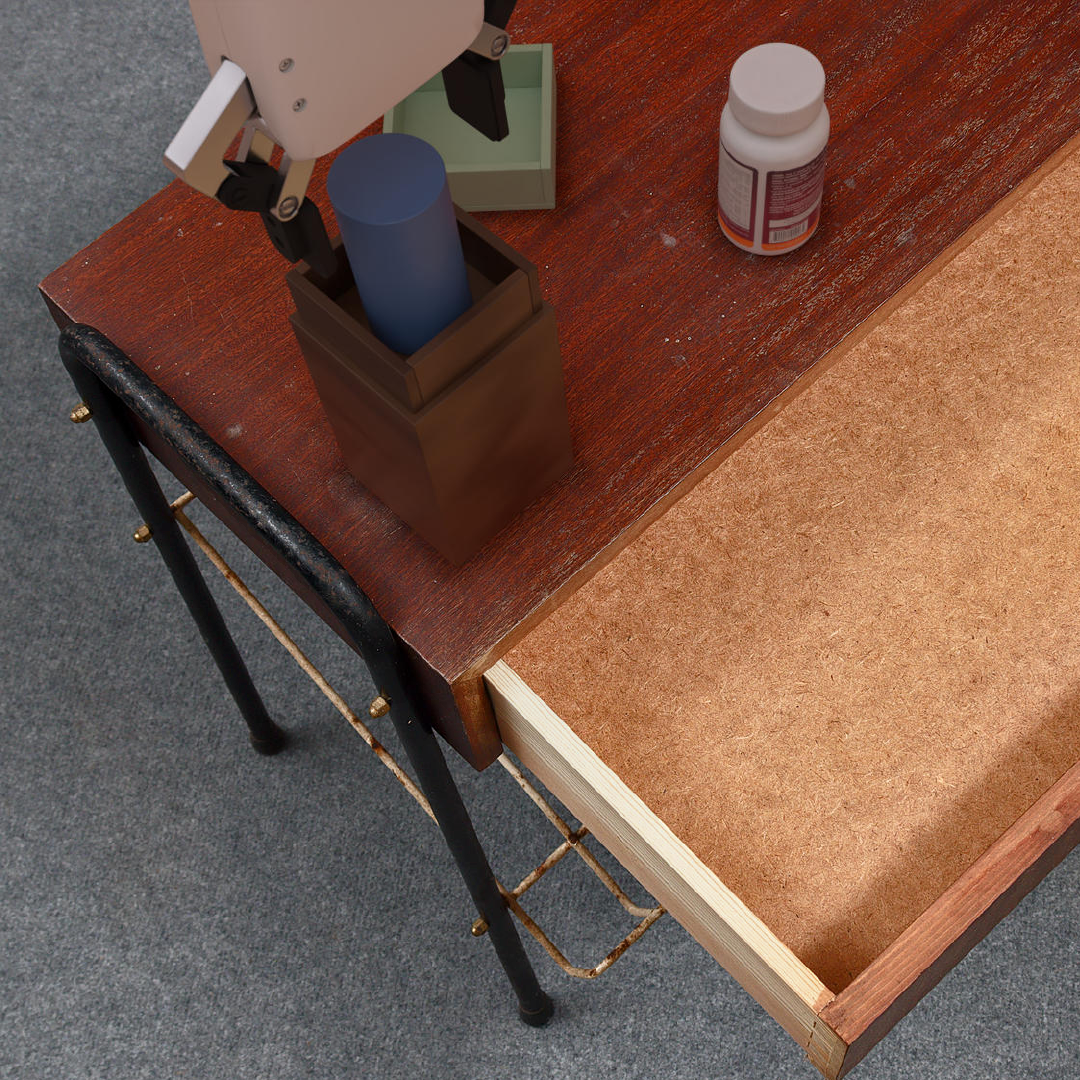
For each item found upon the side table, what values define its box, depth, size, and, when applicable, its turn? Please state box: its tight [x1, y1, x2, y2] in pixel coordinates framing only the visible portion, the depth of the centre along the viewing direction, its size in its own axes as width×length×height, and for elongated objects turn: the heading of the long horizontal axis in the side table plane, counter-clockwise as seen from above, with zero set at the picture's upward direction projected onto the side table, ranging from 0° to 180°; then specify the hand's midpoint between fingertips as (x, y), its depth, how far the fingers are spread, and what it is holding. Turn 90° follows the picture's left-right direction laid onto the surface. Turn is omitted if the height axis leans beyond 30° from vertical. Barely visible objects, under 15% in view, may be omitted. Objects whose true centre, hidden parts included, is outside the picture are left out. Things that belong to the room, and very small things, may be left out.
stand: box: [284, 201, 575, 569], centre depth 74 cm, size 9×9×17 cm
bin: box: [382, 42, 558, 213], centre depth 90 cm, size 10×10×4 cm
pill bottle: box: [717, 42, 831, 256], centre depth 83 cm, size 6×6×11 cm
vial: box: [326, 132, 473, 355], centre depth 65 cm, size 5×5×9 cm
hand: (396, 188), depth 61 cm, fingers open, 9 cm apart
